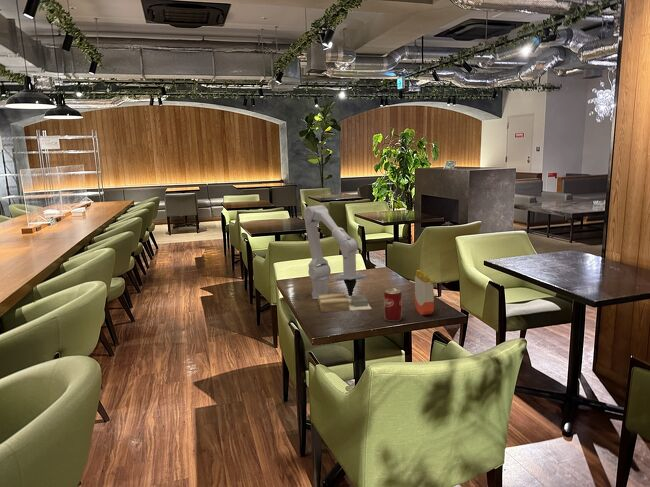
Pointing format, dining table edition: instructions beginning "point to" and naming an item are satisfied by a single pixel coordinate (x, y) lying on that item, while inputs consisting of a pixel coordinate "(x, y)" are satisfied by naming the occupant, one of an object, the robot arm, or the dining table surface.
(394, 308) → the soda can
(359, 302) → the slate tile
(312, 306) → the dining table surface
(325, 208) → the robot arm
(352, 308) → the placemat
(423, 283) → the french fries container
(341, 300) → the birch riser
